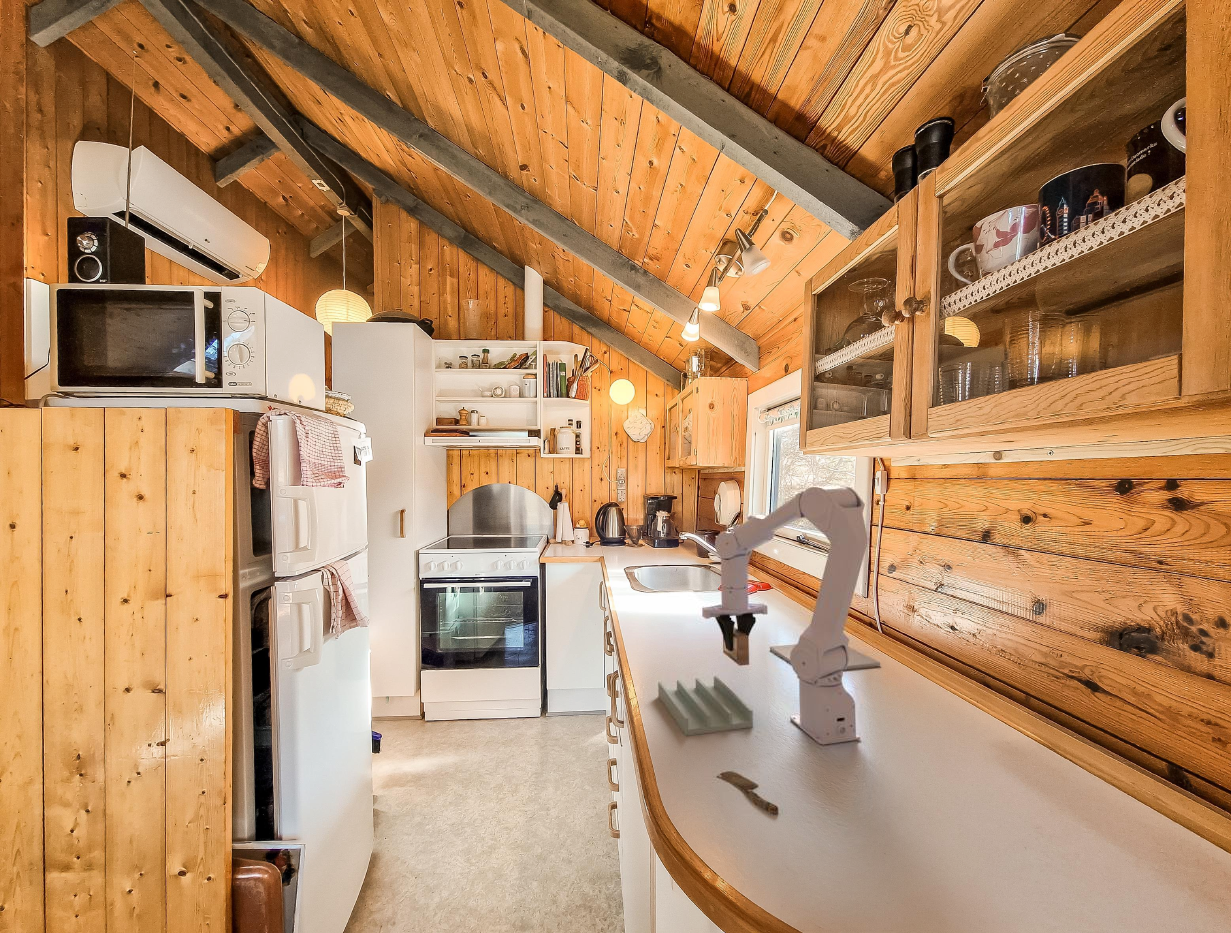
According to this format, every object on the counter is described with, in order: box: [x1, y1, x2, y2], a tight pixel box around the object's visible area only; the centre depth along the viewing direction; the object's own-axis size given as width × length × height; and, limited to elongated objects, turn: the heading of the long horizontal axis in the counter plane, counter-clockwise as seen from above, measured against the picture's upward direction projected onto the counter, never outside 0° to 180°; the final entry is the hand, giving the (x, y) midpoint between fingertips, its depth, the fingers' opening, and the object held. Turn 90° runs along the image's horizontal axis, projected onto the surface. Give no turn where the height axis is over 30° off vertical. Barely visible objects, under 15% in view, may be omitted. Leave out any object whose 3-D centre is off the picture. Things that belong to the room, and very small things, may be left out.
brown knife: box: [714, 770, 779, 815], centre depth 70 cm, size 12×1×5 cm
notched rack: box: [657, 675, 754, 737], centre depth 95 cm, size 16×13×3 cm
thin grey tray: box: [769, 643, 881, 671], centre depth 122 cm, size 16×2×20 cm
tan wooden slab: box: [722, 626, 750, 667], centre depth 105 cm, size 8×2×6 cm, turn 12°
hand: (735, 648), depth 105 cm, fingers closed on tan wooden slab, 2 cm apart
